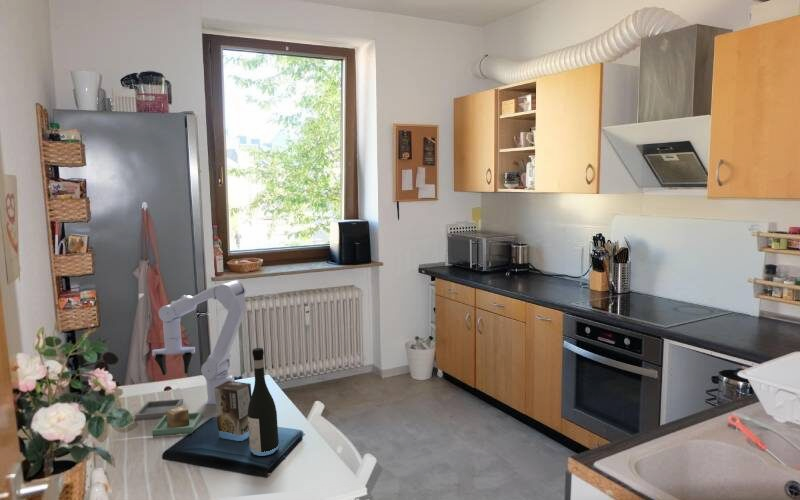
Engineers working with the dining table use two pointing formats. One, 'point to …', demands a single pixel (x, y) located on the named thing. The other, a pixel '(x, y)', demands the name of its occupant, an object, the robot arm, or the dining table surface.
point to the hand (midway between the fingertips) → (175, 373)
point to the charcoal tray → (157, 408)
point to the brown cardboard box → (177, 417)
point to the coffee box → (232, 407)
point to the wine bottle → (261, 410)
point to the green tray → (165, 430)
